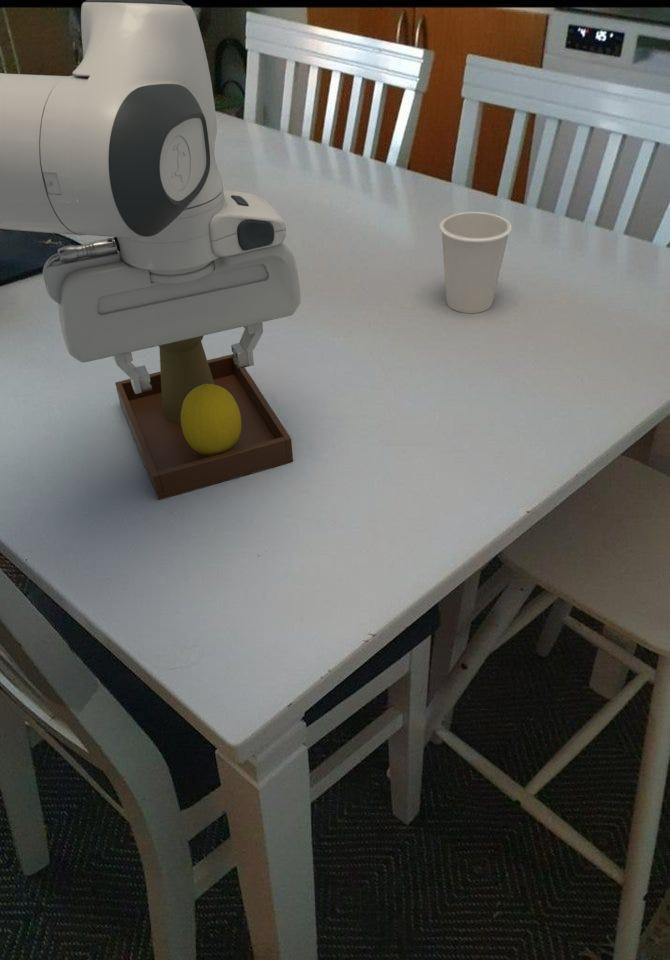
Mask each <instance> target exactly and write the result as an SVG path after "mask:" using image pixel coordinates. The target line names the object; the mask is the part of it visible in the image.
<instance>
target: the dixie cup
mask: <svg viewBox="0 0 670 960" xmlns="http://www.w3.org/2000/svg"><path fill="white" fill-rule="evenodd" d="M512 228H513V227H512V224H511V223H510V221H508V219H506V218H504V217H503V216H500V215H498V214H495V213H491V212H484V211H463V212H458V213H457V212H456V213H453V214H450V215H449V216H446V217H445V218H444V219H442V220H441V221H440V223H439V231H440V232H441V242H442V255H443V269H444V271H443V272H444V285H445V286H444V287H445V297H446V298H445V299H446V300H445V301H446V305H447V306H448V307H449V308H450V309H452V310H453V311H456V312H459V313H463V314H478V313H483V312H485V311H487V310H489V309H490V308H491V307H493V303H494V299H495V294H496V290H497V286H498V285H497V284H498V282H499V277H500V273H501V269H502V266H503V265H502V264H503V259H504V256H505V252H506V248H507V243H508V239H509V235H510V234H511V232H512Z"/></svg>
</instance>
